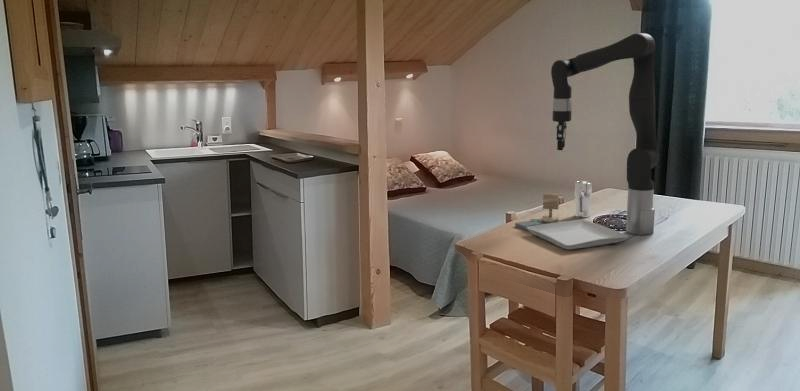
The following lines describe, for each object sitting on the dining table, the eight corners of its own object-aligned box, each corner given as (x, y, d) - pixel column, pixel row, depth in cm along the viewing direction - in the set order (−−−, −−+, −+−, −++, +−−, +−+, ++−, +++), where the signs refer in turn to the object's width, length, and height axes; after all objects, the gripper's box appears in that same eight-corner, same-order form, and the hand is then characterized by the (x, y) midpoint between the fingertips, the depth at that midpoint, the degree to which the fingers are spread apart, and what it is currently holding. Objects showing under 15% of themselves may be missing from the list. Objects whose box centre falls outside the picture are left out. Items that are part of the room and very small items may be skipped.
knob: (557, 223, 253) (558, 196, 250) (529, 222, 256) (530, 194, 254) (559, 220, 259) (559, 192, 256) (531, 218, 262) (532, 191, 260)
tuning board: (570, 227, 254) (570, 223, 254) (534, 233, 246) (534, 229, 246) (549, 220, 265) (549, 217, 265) (515, 226, 257) (515, 222, 257)
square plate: (524, 235, 245) (524, 226, 244) (583, 227, 254) (583, 218, 253) (566, 254, 220) (566, 243, 219) (629, 244, 229) (630, 234, 228)
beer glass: (588, 214, 274) (590, 180, 271) (592, 217, 268) (593, 183, 265) (572, 214, 275) (573, 180, 272) (575, 217, 268) (576, 183, 265)
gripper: (570, 110, 250) (569, 151, 253) (572, 108, 263) (571, 146, 266) (550, 110, 252) (549, 151, 256) (554, 108, 265) (553, 146, 269)
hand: (561, 148), depth 261 cm, fingers open, 8 cm apart
